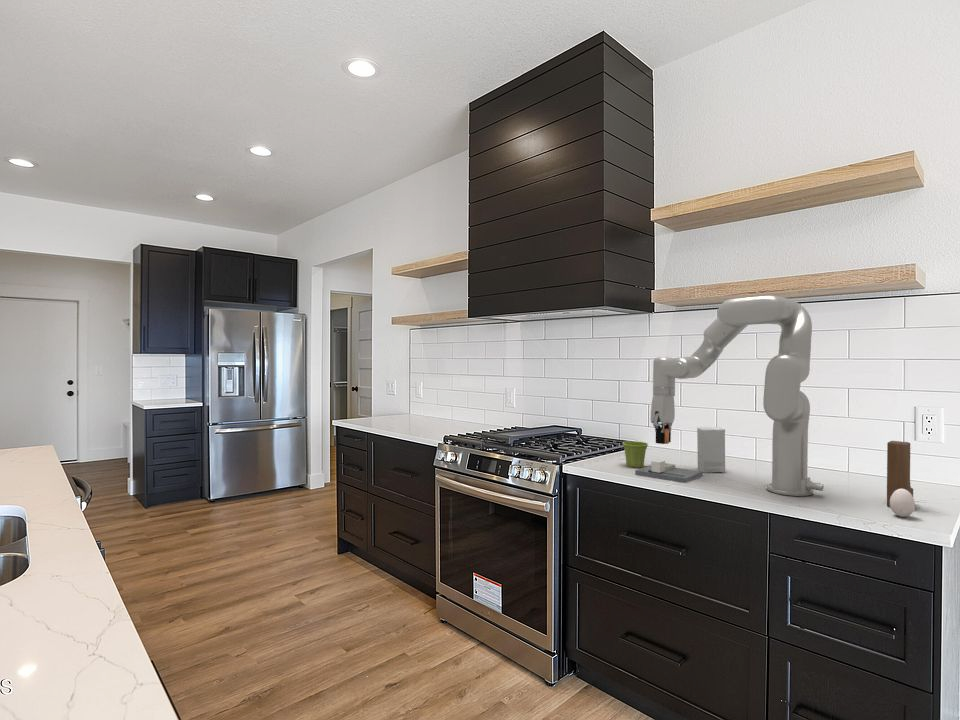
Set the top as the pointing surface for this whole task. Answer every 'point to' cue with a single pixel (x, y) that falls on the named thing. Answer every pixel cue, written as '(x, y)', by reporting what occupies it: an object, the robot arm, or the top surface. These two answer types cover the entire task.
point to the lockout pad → (669, 466)
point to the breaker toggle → (658, 466)
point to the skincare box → (711, 449)
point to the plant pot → (635, 453)
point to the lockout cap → (666, 435)
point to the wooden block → (898, 468)
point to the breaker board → (671, 474)
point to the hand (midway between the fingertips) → (663, 442)
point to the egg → (902, 503)
